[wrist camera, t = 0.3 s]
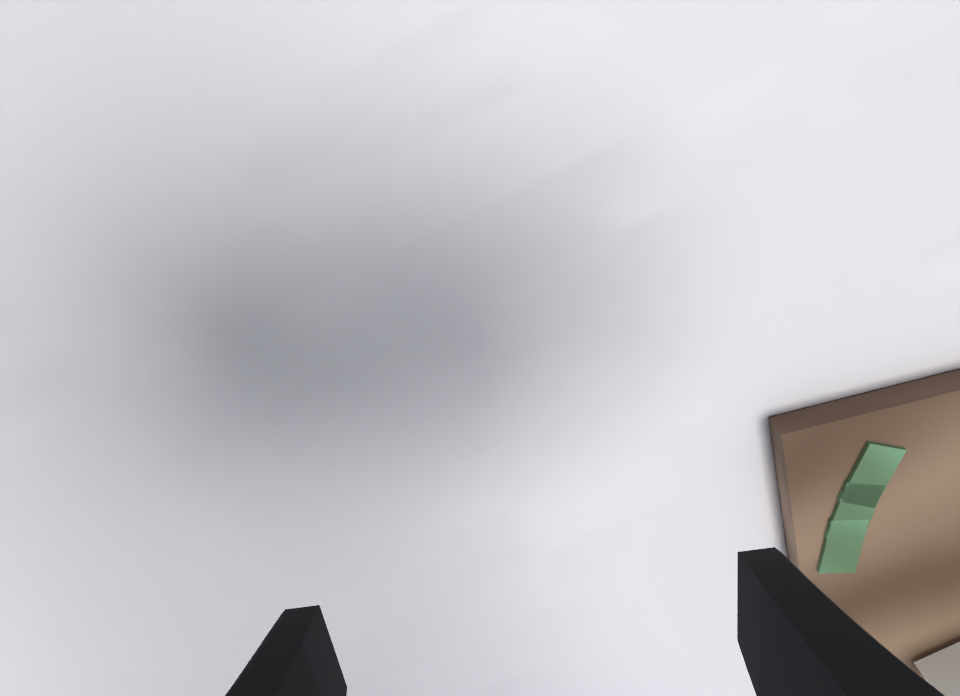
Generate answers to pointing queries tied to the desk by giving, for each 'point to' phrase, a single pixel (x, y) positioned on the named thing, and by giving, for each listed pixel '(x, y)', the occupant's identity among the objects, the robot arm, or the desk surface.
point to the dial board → (879, 509)
